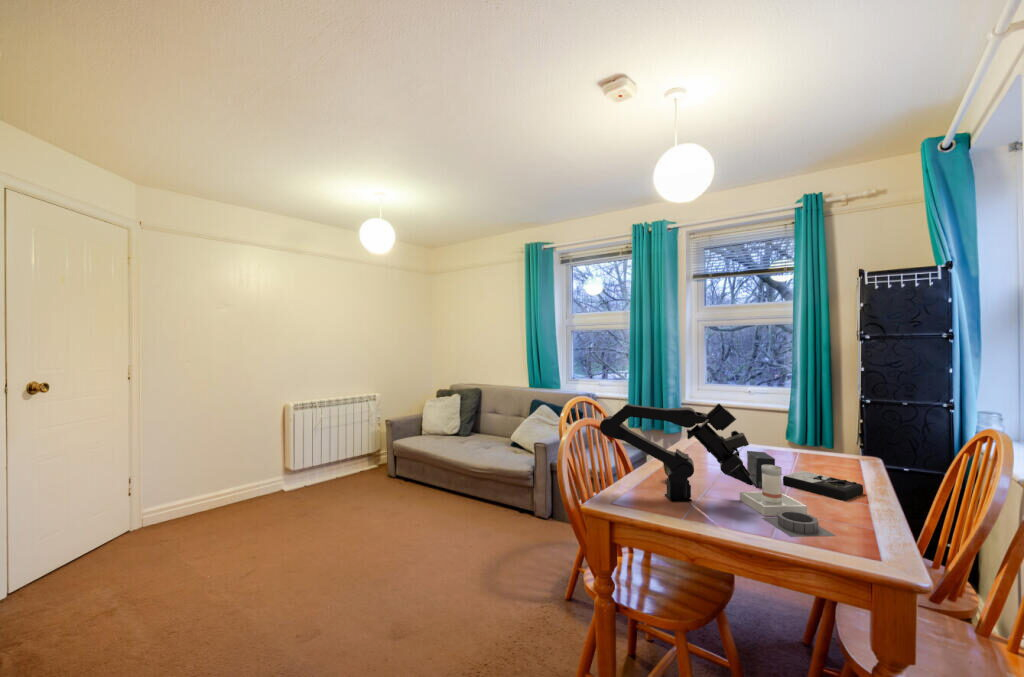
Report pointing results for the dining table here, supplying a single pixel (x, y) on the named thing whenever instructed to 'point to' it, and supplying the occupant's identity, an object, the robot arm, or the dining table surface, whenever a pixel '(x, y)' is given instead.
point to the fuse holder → (798, 524)
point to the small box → (757, 465)
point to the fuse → (771, 485)
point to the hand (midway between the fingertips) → (750, 480)
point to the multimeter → (823, 485)
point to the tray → (756, 503)
